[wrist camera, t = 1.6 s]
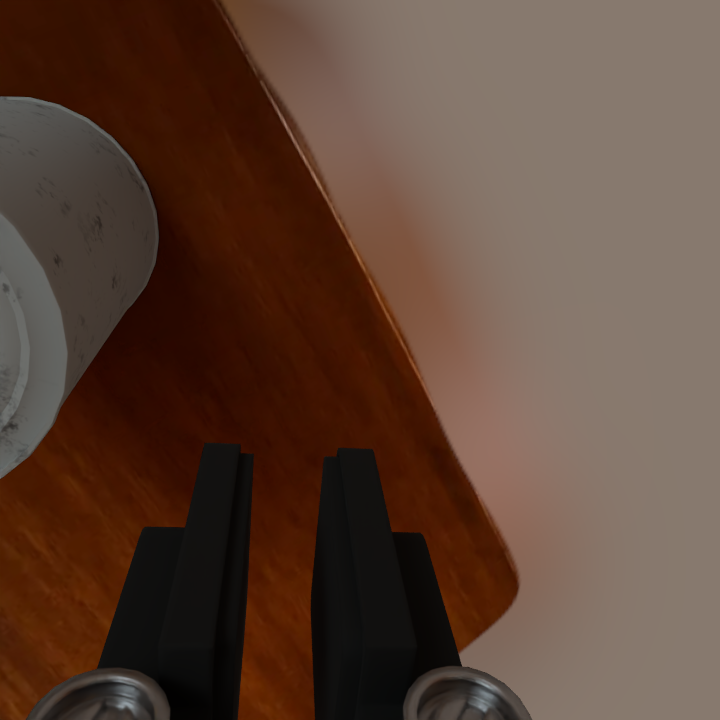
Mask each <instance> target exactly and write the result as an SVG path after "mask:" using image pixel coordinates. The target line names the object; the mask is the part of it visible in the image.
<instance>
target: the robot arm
mask: <svg viewBox="0 0 720 720" xmlns="http://www.w3.org/2000/svg"><path fill="white" fill-rule="evenodd" d="M253 459H254V454H245V453H241V446H240V444H225V443H205V444H204V447H203V452H202V456H201V461H200V465H199V469H198V474H197V478H196V483H195V487H194V491H193V496H192V500H191V504H190V509H189V513H188V518H187V522H186V526H185V528H181V527H144V528H143V530H142V532H141V535H140V537H139V540H138V543H137V546H136V550H135V553H134V556H133V559H132V562H131V565H130V568H129V571H128V574H127V577H126V581H125V584H124V587H123V590H122V593H121V596H120V599H119V602H118V605H117V608H116V612H115V615H114V618H113V621H112V624H111V627H110V630H109V633H108V636H107V639H106V643H105V646H104V649H103V652H102V655H101V658H100V661H99V664H98V667H97V669H95V670H92V671H89V672H85V673H82V674H79V675H76V676H74V677H72V678H70V679H68V680H67V681H65V682H63V683H61V684H59V685H58V686H56V687H54V688H53V689H52V690H51V691H50V692H49V693H48V694H46V695H45V696H44V697H43V698H42V699H41V700H40V701H39V702H37V704H36V705H35V707H34V708H33V709H32V711H31V712H30V714H29V715H28V717H27V718H26V720H237V719H238V707H239V694H240V681H241V669H242V656H243V644H244V631H245V619H246V605H247V588H248V567H249V546H250V524H251V503H252V481H253ZM311 629H312V653H313V678H314V703H315V720H532V719H531V716H530V714H529V713H528V711H527V709H526V708H525V706H524V705H523V703H522V701H521V700H520V698H519V697H518V696H517V695H516V694H515V693H514V692H513V691H512V690H511V689H510V688H509V687H508V686H506V685H505V684H504V683H503V682H501V681H499V680H497V679H496V678H494V677H493V676H491V675H489V674H487V673H485V672H482V671H479V670H476V669H472V668H470V667H462V665H461V662H460V658H459V654H458V651H457V647H456V644H455V640H454V637H453V634H452V630H451V627H450V623H449V620H448V617H447V613H446V610H445V606H444V603H443V599H442V596H441V593H440V589H439V586H438V582H437V579H436V575H435V572H434V569H433V565H432V562H431V558H430V555H429V551H428V548H427V545H426V541H425V539H424V537H423V535H422V534H421V533H408V532H392V531H391V527H390V522H389V518H388V513H387V509H386V504H385V500H384V495H383V491H382V487H381V482H380V478H379V473H378V469H377V464H376V460H375V455H374V452H373V450H372V449H355V448H338V450H337V456H336V457H327V456H325V457H324V463H323V473H322V484H321V494H320V505H319V516H318V526H317V537H316V547H315V558H314V569H313V579H312V590H311Z"/></svg>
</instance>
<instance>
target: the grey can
mask: <svg viewBox="0 0 720 720" xmlns="http://www.w3.org/2000/svg"><path fill="white" fill-rule="evenodd" d="M158 242H159V231H158V221H157V211H156V208H155V205H154V202H153V199H152V196H151V193H150V190H149V187H148V185H147V183H146V181H145V179H144V178H143V176H142V174H141V173H140V171H139V169H138V167H137V166H136V164H135V162H134V161H133V159H132V158H131V157H130V156H129V155H128V154H127V152H126V151H125V150H124V149H123V148H122V147H121V146H120V145H119V143H118V142H117V141H116V140H115V139H114V138H113V137H112V136H111V135H109V134H108V133H107V132H105V131H104V130H103V129H101V128H100V127H99V126H97V125H96V124H95V123H93V122H92V121H91V120H89V119H88V118H86V117H84V116H82V115H80V114H78V113H76V112H74V111H72V110H70V109H68V108H65V107H63V106H61V105H59V104H55V103H51V102H47V101H43V100H38V99H34V98H30V97H0V479H1V478H2V477H4V476H5V475H6V474H7V473H9V472H10V471H11V470H12V469H14V468H15V467H16V466H17V465H19V464H20V463H21V462H23V461H24V460H25V459H26V458H28V457H29V456H30V455H31V454H32V453H33V451H34V450H35V449H36V447H37V446H38V445H39V443H40V442H41V441H42V439H43V438H44V437H45V435H46V434H47V433H48V431H49V430H50V429H51V427H52V426H53V424H54V423H55V420H56V418H57V415H58V413H59V410H60V407H61V406H62V404H63V403H64V401H65V400H66V398H67V397H68V395H69V394H70V393H71V391H72V390H73V388H74V387H75V385H76V384H77V382H78V381H79V379H80V378H81V376H82V375H83V373H84V372H85V371H86V369H87V368H88V366H89V365H90V363H91V362H92V360H93V359H94V357H95V356H96V354H97V353H98V351H99V350H100V349H101V347H102V346H103V344H104V343H105V341H106V340H107V338H108V337H109V335H110V334H111V332H112V331H113V329H114V328H115V327H116V325H117V324H118V322H119V321H120V319H121V318H122V316H123V315H124V313H125V312H126V310H127V309H128V308H129V307H130V306H131V305H132V304H133V303H134V302H135V300H136V299H137V298H138V296H139V295H140V293H141V292H142V291H143V289H144V288H145V287H146V285H147V283H148V280H149V278H150V276H151V273H152V271H153V268H154V266H155V263H156V257H157V250H158Z"/></svg>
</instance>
